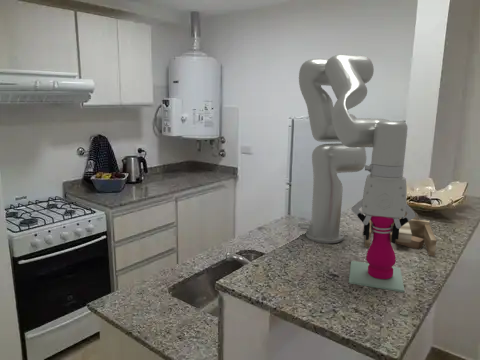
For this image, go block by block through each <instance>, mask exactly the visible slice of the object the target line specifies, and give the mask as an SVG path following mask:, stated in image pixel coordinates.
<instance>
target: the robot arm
mask: <svg viewBox="0 0 480 360" xmlns="http://www.w3.org/2000/svg"><path fill="white" fill-rule="evenodd" d="M373 76H374V64H373V62H372V60H371V59H370V58H369V57H368V56H366V55H363V54H362V55H361V54H358V55H357V54H336V55H333V56H331V57H330V58H312V59H308V60H305V61H304V62H303V63H302V64H301V66H300V67H299V72H298V84H299V88H300V92H301V95H302V97H303V99H304V102H305V105H306V107H307V115H308V121H309V125H310V130H311V134H312V137H313V139H314V140H315V141H317V142H321V143H322V144H318V146H316V147H315V148H314V149H313V150H312V153H311V164H312V176H313V182H312V183H313V184H312V185H313V186H312V201H311V202H312V203H311V220H310V221H307V222H304V221H298V223H297V227H298V228H300V230H306V231H305V236H306V238H307V239H309V240H310V241H313V242H317V243H323V244H336V243H340V242H342V241H344V238H345V234H344V233H343V232H341V231H340V230H341V229H340V228H341V218H342V217H341V216H342V205H343V204H342V203H343V190H344V189H343V184H342V182H341V179H340V178H339V176H338V174H343V173H344V174H345V173H357V172H360V171H362V170H364V171H366V172H369V174H368V175H366V179H365V182H364V183H365V184H364V187H363V188H364V189H363V194H362V198H361V199H360V200H359V201H357V203H355V204H354V205H353V206H352V207H351V212H352V213H354V214H355V215H356V217H357V218H358V219H359V220H360V221H361V222H362V224H363V236H364V237H365V236H366V240H369V231H370V223H369V221H370V219H371V217H372V216H376V217H386V218H393V219H394V222H395V223H394V226H393V228H392V238H391V239H392V242H391V244H396V243H395V239H398V237H399V229H400V228H401V226H403V225H404V224H406V223H407V222H408V221H409V220H411V219H413V218H414V217H415V216H416V215H415V213H414V212H413V211H412V209H413V208H412V207H411V206H410V205H409V204H408V203H407V178H405V176H403V174H404V169H405V168H404V167H405V157H406V149H407V138H408V125H407V123H406V122H404V121H401V120H389V119H387V118H372V117H371V118H368V117H367V118H357V117H356V116H355V115H354V114H352V113H350V112H349V110H350V109H353V108H355V107H357V106H358V105H360V104H361V103H362V102H363V101H364V100H365V99H366V97H367V95H368V87H367V85H366V84H367V83H369V82H371V80H372V77H373ZM322 86H326V87H327V86H330V87H331V89H332V91H333V94H334V95H335V97H336V101H335V103H334V104H333V100H332V97H331V96H330V95H329V93H328V92H327V91H326V90H325V89H324V88H323V87H322ZM337 142H338V143H337ZM339 142H340V143H339ZM366 148H372V150H371V151H372V152H371V163H370V164H368V165H366V164H367V151H366ZM407 204H408V205H409V206H410V207H411V208H412V209H411V208H410V207H409V206H408V205H407ZM360 208H361V210H360ZM405 211H406V212H407V213H408V214H407V215H406V216H405ZM404 216H405V217H404ZM399 218H401V219H400V220H399Z"/></svg>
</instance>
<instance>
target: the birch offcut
mask: <svg viewBox="0 0 480 360" xmlns="http://www.w3.org/2000/svg"><path fill="white" fill-rule="evenodd" d="M411 237H412V233H411V229H410V225H409V222H407V223H406V224H404V225H403V226H401V228H400V229H399V237H398V239H396V240H397V242H404V243H411Z"/></svg>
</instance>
